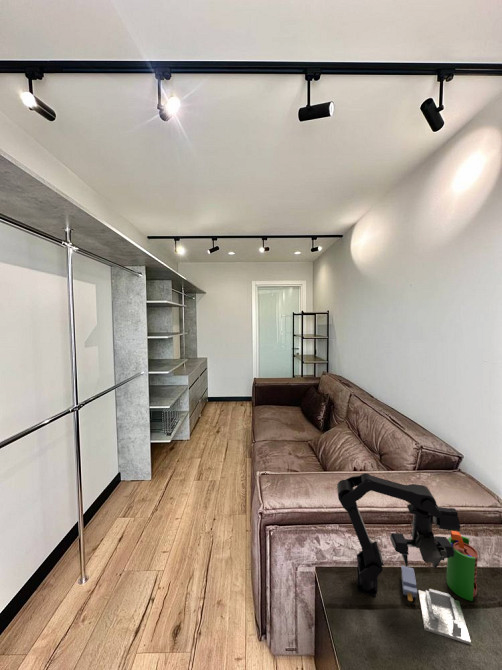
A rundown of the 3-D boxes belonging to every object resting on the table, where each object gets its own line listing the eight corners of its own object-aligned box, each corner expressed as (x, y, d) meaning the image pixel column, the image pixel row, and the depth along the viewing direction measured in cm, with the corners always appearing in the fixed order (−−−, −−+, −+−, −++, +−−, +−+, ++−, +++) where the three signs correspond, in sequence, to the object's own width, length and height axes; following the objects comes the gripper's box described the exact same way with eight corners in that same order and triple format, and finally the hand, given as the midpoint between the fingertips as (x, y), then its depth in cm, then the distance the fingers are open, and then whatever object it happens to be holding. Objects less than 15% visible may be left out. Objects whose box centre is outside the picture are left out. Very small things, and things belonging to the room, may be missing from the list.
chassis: (424, 629, 94) (424, 618, 93) (418, 592, 106) (418, 582, 105) (470, 644, 89) (471, 632, 89) (458, 603, 101) (459, 593, 101)
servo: (403, 599, 103) (403, 586, 103) (401, 575, 113) (401, 562, 112) (416, 603, 102) (417, 590, 101) (413, 578, 111) (413, 565, 111)
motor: (483, 602, 101) (485, 547, 99) (454, 598, 103) (455, 544, 101) (468, 575, 111) (470, 525, 109) (441, 572, 113) (442, 522, 111)
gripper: (402, 541, 95) (400, 585, 97) (466, 546, 93) (462, 591, 95) (390, 516, 106) (388, 556, 108) (446, 520, 104) (444, 561, 106)
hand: (420, 566), depth 104 cm, fingers open, 9 cm apart
